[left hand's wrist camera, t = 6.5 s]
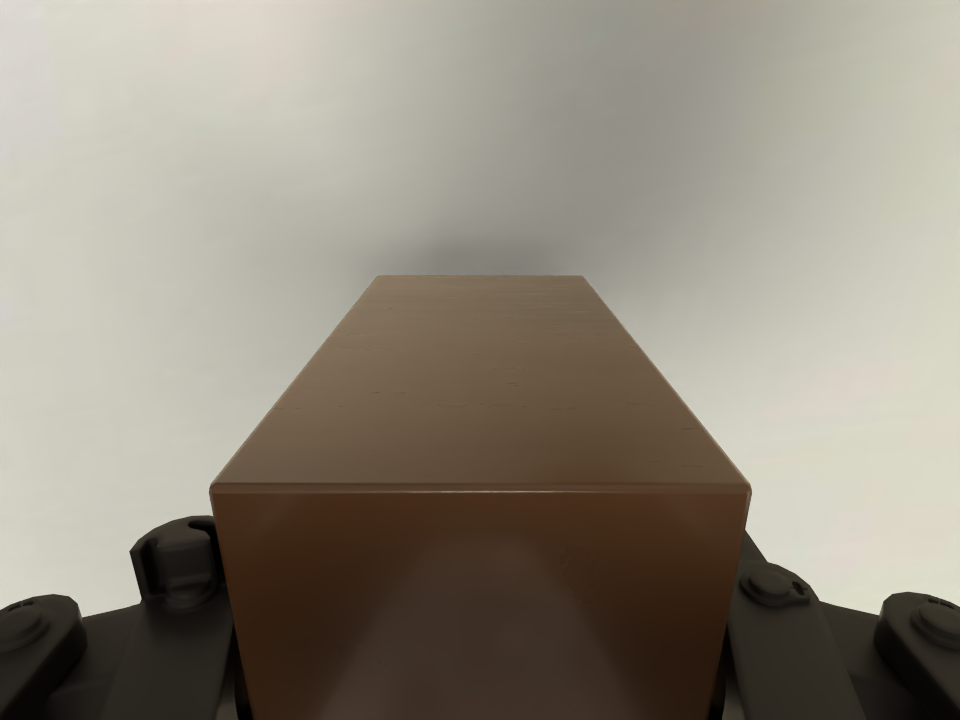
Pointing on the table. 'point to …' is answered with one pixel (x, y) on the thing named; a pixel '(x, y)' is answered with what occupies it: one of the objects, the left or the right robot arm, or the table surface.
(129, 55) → the table surface
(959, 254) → the table surface
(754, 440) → the table surface
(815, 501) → the table surface
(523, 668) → the bar
